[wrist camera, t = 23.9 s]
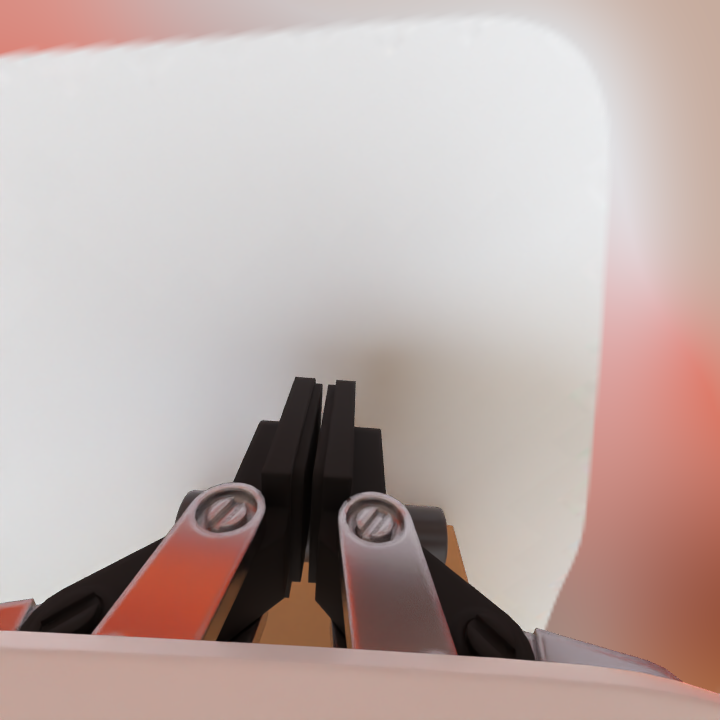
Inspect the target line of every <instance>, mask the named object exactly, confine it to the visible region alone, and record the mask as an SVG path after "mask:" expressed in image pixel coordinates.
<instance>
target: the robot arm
mask: <svg viewBox="0 0 720 720" xmlns="http://www.w3.org/2000/svg"><path fill="white" fill-rule="evenodd" d="M355 386H356V381H343V380H336V385H328V390H327V395H326V401H325V407H324V413H323V418H322V424H321V410H322V389H323V385H322V384H316V380H315V378H303V377H295V380H294V382H293V385H292V388H291V391H290V393H289V396H288V399H287V402H286V405H285V407H284V410H283V413H282V416H281V419H280V421H279V422H278V421H264V420H262V421H260V423H259V425H258V427H257V429H256V432H255V434H254V436H253V438H252V441H251V443H250V445H249V447H248V450H247V452H246V454H245V456H244V459H243V461H242V463H241V465H240V468H239V470H238V472H237V475H236V477H235V479H234V481H233V482H232V483H225V484H220V485H217V486H214V487H211V488H209V489H207V490H206V491H204V492H202V493H201V494H199V495H198V496H197V497H196V498H195V499H194V500H193V501H192V502H191V504H190V505H189V506H188V508H187V509H186V510H185V512H184V513H183V514H182V516H181V517H180V518H179V519H178V521H177V522H176V523H175V525H174V526H173V527H172V529H171V530H170V531H169V533H168V534H167V535H166V536H165V537H164V538H162V539H160V540H158V541H156V542H154V543H152V544H150V545H148V546H146V547H144V548H142V549H140V550H138V551H136V552H134V553H132V554H130V555H128V556H127V557H125V558H123V559H121V560H119V561H117V562H115V563H113V564H111V565H109V566H107V567H105V568H103V569H101V570H99V571H97V572H95V573H93V574H92V575H90V576H88V577H86V578H84V579H82V580H80V581H78V582H76V583H74V584H72V585H70V586H68V587H66V588H64V589H63V590H61V591H59V592H58V593H56V594H55V595H53V596H51V597H50V598H48V599H47V600H46V601H45V602H43V603H42V604H40V605H36V604H35V602H34V599H26V600H20V601H13V602H6V603H0V720H720V694H718V693H715V692H712V691H709V690H706V689H703V688H699V687H696V686H693V685H690V684H686V683H683V682H682V681H681V680H680V679H679V678H677V677H676V676H675V675H673V674H672V673H670V672H669V671H668V670H666V669H665V668H663V667H661V666H659V665H657V664H655V663H652V662H650V661H648V660H644V659H641V658H638V657H634V656H631V655H627V654H624V653H620V652H617V651H613V650H610V649H607V648H603V647H600V646H596V645H593V644H590V643H586V642H583V641H579V640H576V639H572V638H569V637H566V636H562V635H559V634H555V633H552V632H548V631H545V630H541V629H538V628H536V629H535V631H534V633H533V634H532V633H529V632H525V631H522V629H521V628H520V626H519V625H518V624H517V623H516V622H515V621H514V620H513V619H512V618H511V617H510V616H509V615H507V614H506V613H505V612H504V611H502V610H501V609H500V608H499V607H497V606H496V605H495V604H494V603H492V602H491V601H490V600H489V599H487V598H486V597H485V596H484V595H482V594H481V593H480V592H479V591H477V590H476V589H475V588H474V587H473V586H471V585H470V584H469V583H468V582H466V581H465V580H464V579H463V578H461V577H460V576H459V575H458V574H456V573H455V572H454V571H453V570H451V569H450V568H449V567H448V566H446V565H445V564H444V563H443V562H441V561H440V560H439V559H438V558H436V557H435V556H434V555H433V554H431V553H430V552H429V551H428V550H426V549H425V548H424V547H423V546H421V545H420V542H419V539H418V536H417V533H416V530H415V527H414V524H413V521H412V518H411V516H410V514H409V512H408V510H407V508H406V507H405V506H404V505H403V504H402V503H401V502H400V501H399V500H397V499H395V498H393V497H392V496H390V495H387V494H386V490H385V477H384V464H383V451H382V438H381V430H380V429H374V428H360V427H354V415H355ZM309 527H310V545H309V570H308V583H316V588H315V601H316V602H317V603H318V604H319V606H320V607H321V608H322V609H323V610H324V611H325V613H326V614H327V615H328V616H329V617H330V627H329V629H330V644H331V648H327V647H310V646H292V645H274V644H259V642H260V639H261V637H262V634H263V631H264V628H265V626H266V622H267V618H268V610H269V609H271V608H272V607H273V606H275V605H276V604H277V603H279V602H280V601H281V600H282V599H284V598H289V595H290V590H291V584H292V582H301V578H302V572H303V565H304V559H305V552H306V546H307V540H308V533H309Z"/></svg>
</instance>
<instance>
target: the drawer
mask: <svg viewBox="0 0 720 720" xmlns="http://www.w3.org/2000/svg"><path fill="white" fill-rule="evenodd" d="M202 492H204V491H200V490H193V491H190V492H189V493H188V494H187V495H186V496H185V498H184V499H183V501H182V503H181V506H180V508H179V511H178V514H177V517H176V521H175V523H176V522H177V521H178V519H179V518H180V517H181V516H182V514H183V513H184V512H185V510H186V509H187V508H188V506H189V505H190V504H191V502H192V501H193V500H194V499H195V498H196V497H197V496H198V495H199V494H201V493H202ZM404 506H405V507H406V508H407V510H408V512H409V514H410V516H411V518H412V521H413V524H414V527H415V530H416V533H417V536H418V539H419V542H420V545H421V546H423V547H424V548H425V549H426V550H428V551H429V552H430V553H431V554H433V555H434V556H435V557H436V558H438V559H439V560H440V561H441V562H443V563H444V564H445V565H446V566H448V567H449V568H450V569H451V570H453V571H454V572H455V573H456V574H458V575H459V576H460V577H461V578H463V579H464V580H465V581H466V582H468V580H467V576H466V572H465V569H464V565H463V561H462V557H461V554H460V550H459V546H458V543H457V539H456V535H455V532H454V528H453V526H451V525H447V524H446V519H445V516H444V513H443V511H442V509H440V508H438V507H426V506H412V505H404ZM309 545H310V527H309V533H308V540H307V546H306V552H305V559H304V565H303V572H302V578H301V582H292V584H291V590H290V595H289V598H284V599H282V600H281V601H280V602H279V603H277V604H276V605H275V606H273V607H272V608H271V609H269V610H268V618H267V622H266V626H265V628H264V631H263V634H262V637H261V639H260V642H259V644H274V645H292V646H310V647H327V648H331V644H330V629H329V627H330V617H329V616H328V615H327V614H326V613H325V611H324V610H323V609H322V608H321V607H320V606H319V604H318V603H317V602H316V601H315V588H316V583H308V570H309Z"/></svg>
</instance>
